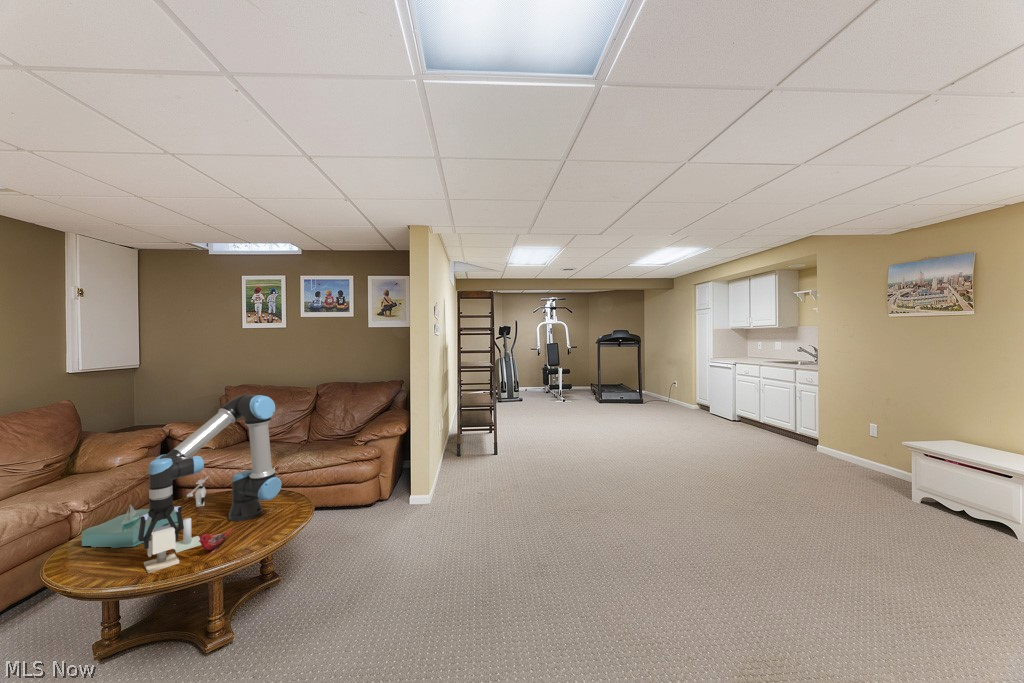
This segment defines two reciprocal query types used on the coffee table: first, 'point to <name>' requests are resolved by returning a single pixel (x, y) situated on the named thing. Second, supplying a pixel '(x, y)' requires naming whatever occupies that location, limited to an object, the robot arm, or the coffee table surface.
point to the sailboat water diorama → (121, 530)
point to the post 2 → (187, 538)
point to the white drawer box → (162, 539)
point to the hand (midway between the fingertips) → (161, 551)
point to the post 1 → (161, 562)
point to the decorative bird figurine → (212, 540)
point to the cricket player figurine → (199, 493)
